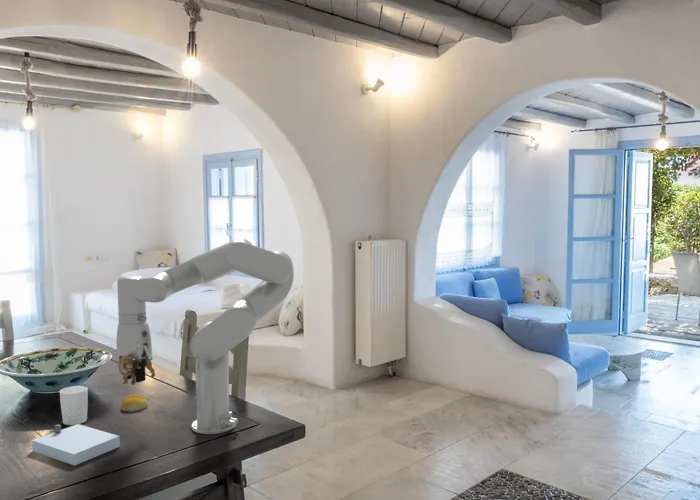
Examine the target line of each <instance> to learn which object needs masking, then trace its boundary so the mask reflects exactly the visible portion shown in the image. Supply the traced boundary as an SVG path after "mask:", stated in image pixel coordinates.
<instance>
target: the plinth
mask: <svg viewBox="0 0 700 500" xmlns="http://www.w3.org/2000/svg"><path fill="white" fill-rule="evenodd" d="M120 441H121V440H120V435H118V434H113V433H110V432H108V431H107V432H106V431H103V430H100V429H96V428H94V427H89V426H86V425H83V424H77V425H70V426H68V427H66V428H63V429H62V425H61V424H55V425H54V432H51V433H49V434H48V433H47V434H46V435H43V436H40V437H37V438H34V439H31V444H32V445H31V449H32V452H34V453H37V454H40V455H42V456H45V457H49V458H52V459H53V460H54V459H55V460H57V461H59V462H63V463H66V464H69V465H71V466H77V465H79V464H81V463H84V462H87V461H88V460H91V459H94V458H96V457H99V456H101V455H103V454H105V453H108V452H110V451H113V450H116V449H117V448H120V447H121V444H120V443H121V442H120Z"/></svg>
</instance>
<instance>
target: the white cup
mask: <svg viewBox="0 0 700 500" xmlns="http://www.w3.org/2000/svg"><path fill="white" fill-rule="evenodd" d="M88 389H89V388H88V386H85V385H73V386H67V387H64V388H62V389H60V390H59V402H60V410H61V416H62V424H63V425H65V426H74V425H77V424H80V425H82V424H83V423H86V422H87V420H88V406H89V402H88V401H89V399H88V396H89V395H88V393H89V392H88V391H89V390H88Z"/></svg>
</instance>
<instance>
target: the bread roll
mask: <svg viewBox="0 0 700 500" xmlns="http://www.w3.org/2000/svg"><path fill="white" fill-rule="evenodd" d="M148 404H149V402H148V399H147V398H146V397H145V395H144V394H143V395H142V394H140V393H134V394H133V393H132V394H129V395H127V396H126V397H124V398H123V400H122V402H121V405H120V408H121V410H122V411H124V412H137V411H142V410H144V409H146V408H147V407H148V406H149V405H148Z"/></svg>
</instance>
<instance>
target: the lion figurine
mask: <svg viewBox="0 0 700 500" xmlns="http://www.w3.org/2000/svg"><path fill="white" fill-rule="evenodd" d="M141 362H142V360H140V363H141ZM117 367H118V371H119V373H120V374H121V375H122V376H124V379H123V382H122V384H123V385H127V384H128V380H129V379H128V378H127V376H129V375H131V376H132V378H131V382H130V385H131V386H133V385H134V386H135V385H136V381H135V369H137V367H136V362H135V359H133V358H132V357H129V356H123V357H121V358H120V360H118V363H117ZM145 369H147V370H148V371H149V372H150V374H151V375H150V378H155V377H156V373H155V369H154V368H153V363H152V360H151V361H150V362H149V363H148V364H147V367H145Z"/></svg>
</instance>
